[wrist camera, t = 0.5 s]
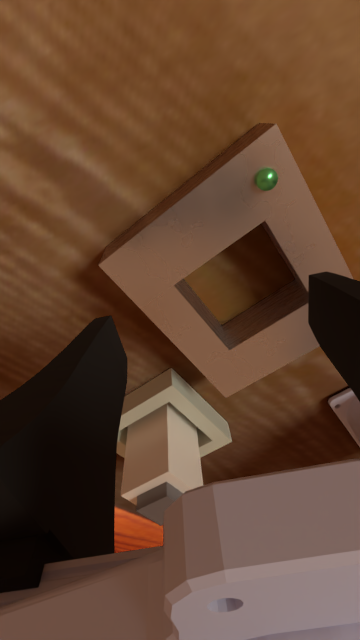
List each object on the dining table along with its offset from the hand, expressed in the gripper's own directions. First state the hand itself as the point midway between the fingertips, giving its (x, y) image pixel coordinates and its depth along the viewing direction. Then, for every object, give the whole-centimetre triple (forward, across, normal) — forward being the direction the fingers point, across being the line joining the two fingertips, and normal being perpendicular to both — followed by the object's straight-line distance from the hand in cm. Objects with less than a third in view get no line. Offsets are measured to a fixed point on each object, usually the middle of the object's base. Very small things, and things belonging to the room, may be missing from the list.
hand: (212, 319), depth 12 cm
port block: (+10, -2, +3) cm, 11 cm away
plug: (+10, +6, +16) cm, 19 cm away
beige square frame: (+10, +6, +16) cm, 19 cm away
